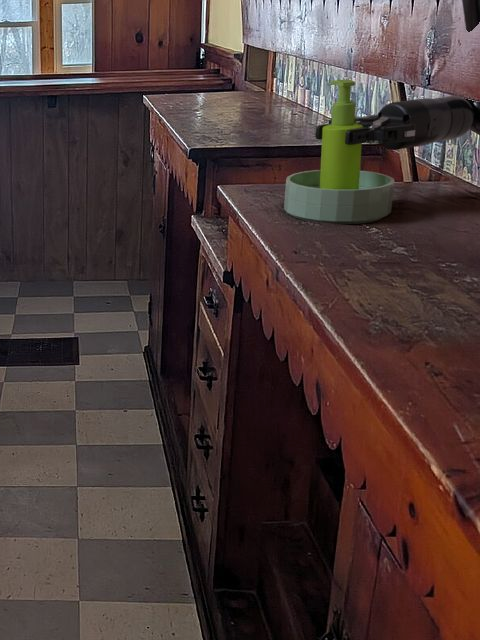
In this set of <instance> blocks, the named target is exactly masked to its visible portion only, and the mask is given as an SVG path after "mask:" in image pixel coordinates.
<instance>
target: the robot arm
mask: <svg viewBox="0 0 480 640" xmlns="http://www.w3.org/2000/svg"><path fill="white" fill-rule="evenodd" d="M461 3H462V11H463V17H464V26H465V31H466V30H467V31H468V32H470V31H472V30H473V29H474V28H475V27H476V26H477V25H478V24H479V22H480V0H461ZM331 121H332V118H331V119H328V123H325V124H318V125H316V128H315V136H314V137H315V140H321V141H322V132H323V127H324V126H327V125H330V124H331ZM355 124H360V125H363V128H358V129H351V130H347V131H346V136H345V144H347V145H354V144H360V143H362V144H366V143H367V144H369V145H381V146H382V147H383V148H384V149H386V150H389V151H398V150H403V149H404V150H405V149H410V148H411V149H412V148H416V147H423V146H428V145H430V144H433V143H438V142H445V141H452V140H455V139H458V138H461V137H463V136H465V135H466V134H467V133H468V132H469V131H471V132H472V133H474V134H476V135H478V136H480V102H476V101H472V100H468V99H465V98H462V97H459V96H455V95H453V94H451V95H450V96H441V97H435V98H428V97H426V98H425V97H423V98H416V99H409V100H400V101H393V102H389V103H387V104H386V105H384V106H383V107H382V108H381V109H380V110H379V112H378V113H377V114H367V115H364V116H356V115H355Z"/></svg>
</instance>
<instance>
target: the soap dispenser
mask: <svg viewBox="0 0 480 640" xmlns="http://www.w3.org/2000/svg"><path fill="white" fill-rule="evenodd" d="M328 85H329V86H338V98H337V99H338V100H336V101H335V102H333V103H332V106H331V119H332V121H331V124H330V125H327V126H324V127H323V132H322V140H321V152H320V153H321V155H320V170H321V172H320V188H322V189H359V177H360V171H361V162H362V161H361V160H362V146H363V145H362V144H363V143H360V144H354V145H347V144H345V136H346V131H347V130H351V129H358V128H363V125H360V124H355V116H356V108H357V107H356V106H357V105H356V102H355V101H353V100H351V94H352V93H351V92H352V91H351V90H352V87H354V86H355V87H356V81H354V80H352V79H349V78H346V79H345V78H344V79H336V80H335V79H334V80H331V81H329V82H328Z"/></svg>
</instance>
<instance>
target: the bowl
mask: <svg viewBox="0 0 480 640" xmlns="http://www.w3.org/2000/svg"><path fill="white" fill-rule="evenodd" d="M320 172H321V169H313V170H305V171H300V172H299V171H298V172H297V173H292V174H290V175H288V176H286V179H285V188H284V189H285V190H284V201H283V210H284V211H285V213H287V214H289V215H290V216H291V217H293V218H295V219H298V220H301V221H304V222H315V223H321V224H332V225H333V224H334V225H358V224H359V225H360V224H366V223H372V222H373V223H374V222H377V221H380V220H382V219H383V218H384V217H387V216H388V215H389V214H391V213H392V206H393V198H394V191H395V182H396V181H395V178H393V177H392V176H390V175H388V174H384V173H379V172H375V171H370V170H369V171H368V170H360V177H359V189H322V188H320Z"/></svg>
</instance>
